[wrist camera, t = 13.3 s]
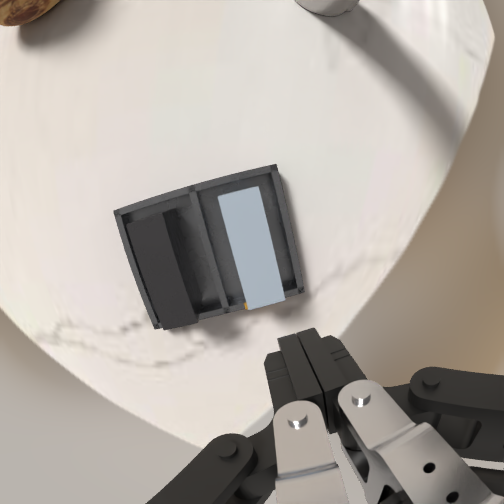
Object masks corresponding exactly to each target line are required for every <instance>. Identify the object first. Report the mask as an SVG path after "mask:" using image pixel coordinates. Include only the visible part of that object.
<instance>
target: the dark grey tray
mask: <svg viewBox="0 0 504 504" xmlns="http://www.w3.org/2000/svg"><path fill="white" fill-rule="evenodd" d="M257 186H259V190H260V194H261V198H262V202H263V206H264V210H265V215H266V219H267V223H268V227H269V231H270V235H271V240H272V244H273V248H274V252H275V257H276V261H277V265H278V269H279V274H280V278H281V283H282V287H283V291H284V296H285V298H286V297H289V296H293V295H296V294H300V293H303V292H305V291H304V286H303V281H302V275H301V270H300V266H299V261H298V256H297V251H296V246H295V242H294V237H293V232H292V228H291V223H290V219H289V215H288V210H287V206H286V202H285V197H284V193H283V189H282V185H281V181H280V176H279V172H278V168H277V164H273V165H269V166H265V167H260V168H256V169H252V170H247V171H243V172H239V173H235V174H231V175H227V176H224V177H220V178H216V179H212V180H209V181H205V182H201V183H198V184H194V185H191V186H187V187H184V188H181V189H177V190H174V191H171V192H168V193H164V194H161V195H158V196H155V197H152V198H149V199H146V200H143V201H140V202H137V203H134V204H131V205H128V206H125V207H123V208H120V209H117V210H114V215H115V219H116V222H117V226H118V229H119V233H120V236H121V239H122V242H123V246H124V249H125V252H126V255H127V258H128V261H129V264H130V267H131V270H132V273H133V275H134V278H135V281H136V284H137V286H138V289H139V292H140V294H141V297H142V300H143V302H144V305H145V307H146V310H147V312H148V315H149V317H150V319H151V322H152V324H153V326H154V329H160V328H163V330H168V329H172V328H177V327H182V326H186V325H191V324H195V323H198V320H201V319H205V318H209V317H213V316H217V315H221V314H225V313H229V312H233V311H237V310H241V309H246V310H247V309H248V306H247V303H246V299H245V296H244V292H243V289H242V285H241V282H240V278H239V274H238V271H237V267H236V264H235V260H234V256H233V253H232V249H231V245H230V242H229V238H228V234H227V230H226V227H225V223H224V219H223V216H222V212H221V208H220V204H219V200H218V196H219V195H223V194H227V193H231V192H235V191H238V190H242V189H246V188H250V187H257Z"/></svg>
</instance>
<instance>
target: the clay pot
mask: <svg viewBox="0 0 504 504" xmlns="http://www.w3.org/2000/svg"><path fill="white" fill-rule="evenodd" d="M59 1H60V0H0V25H3V26H18V25H22V24H25V23H28V22H30V21H33V20H35V19H36V18H38V17H40V16H41V15H43V14H44V13H46V12H47V11H48V10H50V9H51V8H52V7H53V6H55V5H56V4H57V3H58V2H59Z"/></svg>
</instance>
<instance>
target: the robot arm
mask: <svg viewBox="0 0 504 504" xmlns="http://www.w3.org/2000/svg"><path fill="white" fill-rule="evenodd" d="M295 1H296V2H297V3H298V4H300V5H301V6H302V7H304V8H305V9H307V10H309V11H311V12H314V13H316V14H320V15H325V16H337V15H340V14H342V13H343V12H345V11H351V10H352V9H353V8H354V6H355V5H356V4H357V3H358V2H359V0H295ZM277 340H278V344H279V348H280V351H277V352H273V353H270V354H267V357H266V359H265V362H264V366H265V371H266V376H267V380H268V385H269V389H270V394H271V398H272V403H273V408H274V417H273V419H272V421H271V422H270V424H269V425H268V426H267V427H266V428H265V429H263V430H262V431H260V432H258V433H256V434H254V435H252V436H250V437H248V438H246V437H245V436H243V435H240V434H231V433H230V434H224V435H221V436H218V437H217V438H215V439H213V440H212V441H211V442H210V443H209V444H208V445H207V446H206V447H205V448H204V449H203V450H202V451H201V452H200V453H199V454H198V455H197V456H196V457H195V458H194V459H193V460H192V461H191V462H190V463H189V464H188V465H187V466H186V467H185V468H184V469H183V470H182V471H181V472H180V473H179V474H178V475H177V476H176V477H175V478H174V479H173V480H172V481H170V482H169V483H168V484H167V485H166V486H165V487H164V488H163V489H162V490H161V491H160V492H158V493H157V494H156V495H155V496H154V497H153V498H152V499H151V500H149V501H148V502H147V503H146V504H264V503H265V501H266V500H267V499H268V497H269V496H270V495H271V493H272V491H273V490H275V489H276V499H277V504H349V501H348V497H347V493H346V490H345V486H344V482H343V479H342V475H341V472H340V469H339V466H338V464H336V461H335V458H334V455H333V451H332V448H331V444H330V441H329V437H328V431H329V434H332V433H336V432H337V433H338V435H339V437H340V439H341V448H342V451H343V452H344V454H345V456H346V458H347V460H348V461H349V463H350V465H351V467H352V469H353V470H354V472H355V474H356V475H357V478H358V479H359V481H360V483H361V485H362V487H363V489H364V492H365V497H366V500H367V502H368V504H504V470H495V469H487V468H481V467H474V466H468V465H467V464H466V463H465V462H464V461H463V460H462V459H461V457H463V458H469V459H476V460H485V461H494V462H504V376H503V375H493V374H484V373H475V372H467V371H460V370H453V369H446V368H440V367H426V368H423V369H421V370H419V371H417V372H416V373H415V374H414V375H413V376H412V378H411V380H410V383H409V384H404V385H399V386H394V387H382V386H381V385H379V384H378V383H377V382H374V381H371V380H368V379H367V378H366V376H365V375H364V374H363V372H362V371H361V369H360V368H359V366H358V365H357V363H356V362H355V361H354V359H353V358H352V356H350V354H349V352H348V351H347V350H346V348H345V346H344V345H343V344H342V342H341V341H340V340H339V339H337V338H335V337H333V336H331V335H329V336H326V337H323V338H321V337H320V336H319V334H318V332H317V331H316V329H315V328H311V329H308V330H304V331H301V332H298V333H296V334H291V335H288V336H284V337H281V338H277ZM327 429H328V431H327Z"/></svg>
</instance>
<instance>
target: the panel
mask: <svg viewBox="0 0 504 504" xmlns="http://www.w3.org/2000/svg"><path fill="white" fill-rule="evenodd" d="M218 200H219V204H220V208H221V212H222V216H223V219H224V223H225V227H226V230H227V234H228V238H229V242H230V245H231V249H232V253H233V256H234V260H235V264H236V267H237V271H238V274H239V278H240V282H241V285H242V289H243V292H244V296H245V299H246V303H247V306H248V310H252V309H256V308H259V307H263V306H267V305H270V304H274V303H278V302H281V301H285V296H284V291H283V287H282V283H281V278H280V274H279V269H278V265H277V261H276V257H275V252H274V248H273V244H272V240H271V235H270V231H269V227H268V223H267V219H266V215H265V210H264V206H263V202H262V198H261V194H260V190H259V186H257V187H250V188H246V189H242V190H238V191H235V192H231V193H227V194H223V195H219V196H218Z"/></svg>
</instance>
